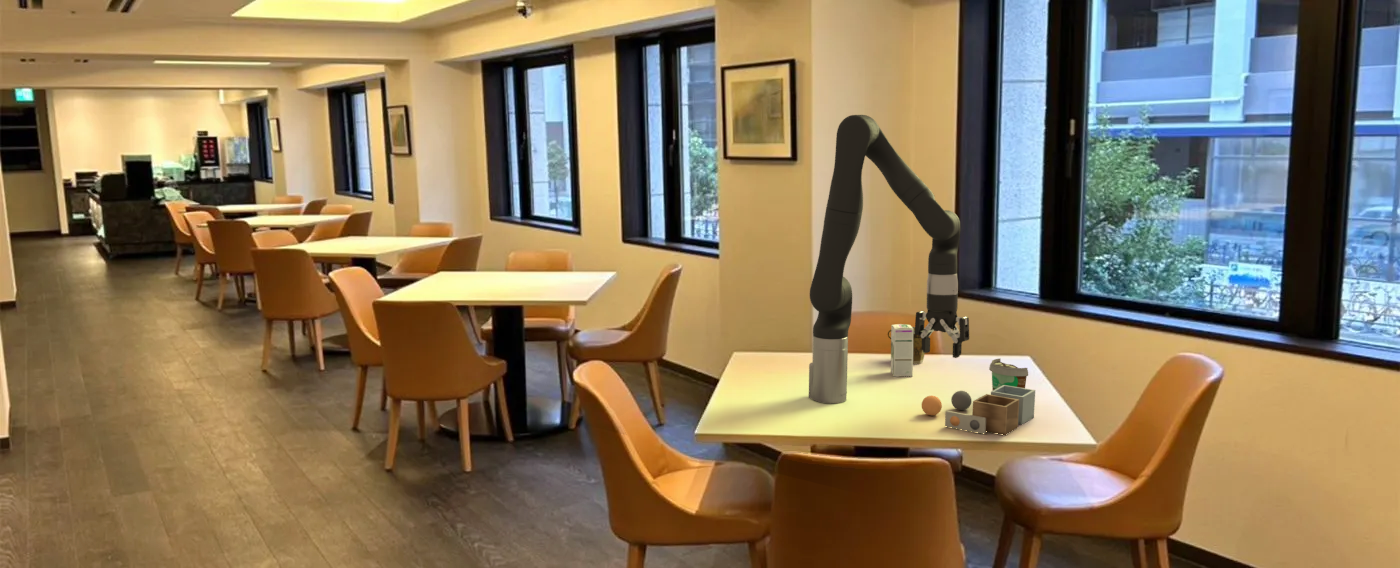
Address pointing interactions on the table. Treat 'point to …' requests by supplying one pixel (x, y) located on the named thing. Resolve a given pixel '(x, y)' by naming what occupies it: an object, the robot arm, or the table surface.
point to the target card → (965, 422)
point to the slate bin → (1024, 397)
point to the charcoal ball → (961, 400)
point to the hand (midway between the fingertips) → (941, 354)
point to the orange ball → (931, 405)
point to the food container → (1007, 375)
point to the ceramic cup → (916, 348)
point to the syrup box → (902, 350)
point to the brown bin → (997, 413)
